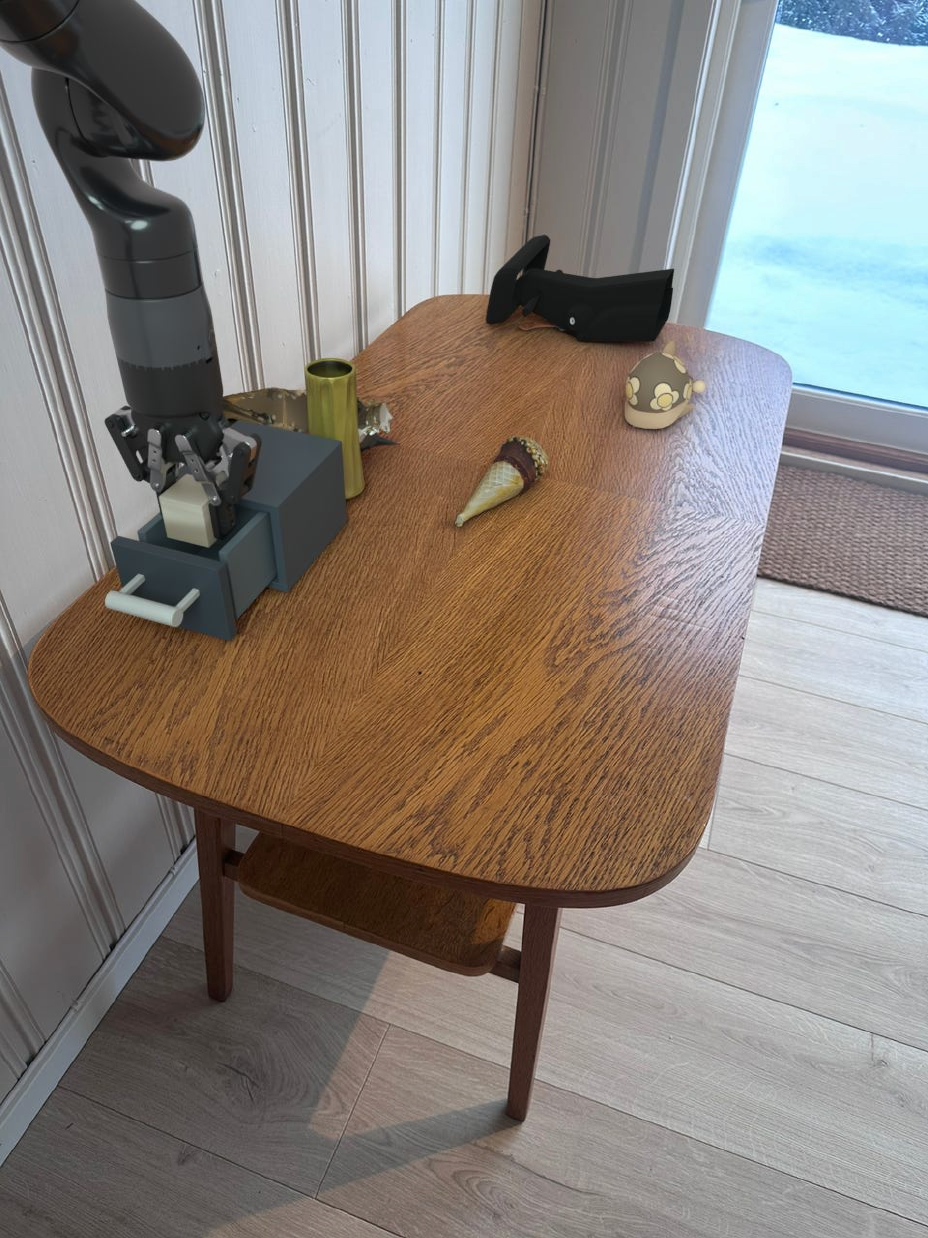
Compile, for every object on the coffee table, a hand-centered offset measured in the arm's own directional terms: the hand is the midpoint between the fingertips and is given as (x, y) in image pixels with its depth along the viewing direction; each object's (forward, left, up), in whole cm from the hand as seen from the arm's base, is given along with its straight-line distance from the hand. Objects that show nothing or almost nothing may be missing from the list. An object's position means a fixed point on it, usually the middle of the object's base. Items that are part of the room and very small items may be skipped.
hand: (200, 528), depth 78 cm
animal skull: (+22, +4, +2) cm, 22 cm away
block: (0, 0, 0) cm, 0 cm away
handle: (+80, -18, -9) cm, 83 cm away
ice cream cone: (+20, -17, -8) cm, 28 cm away
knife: (+79, -14, -8) cm, 81 cm away
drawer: (-2, 0, -7) cm, 8 cm away
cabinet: (+10, 0, -8) cm, 13 cm away
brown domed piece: (+66, -34, -7) cm, 74 cm away
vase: (+23, -2, -8) cm, 24 cm away
